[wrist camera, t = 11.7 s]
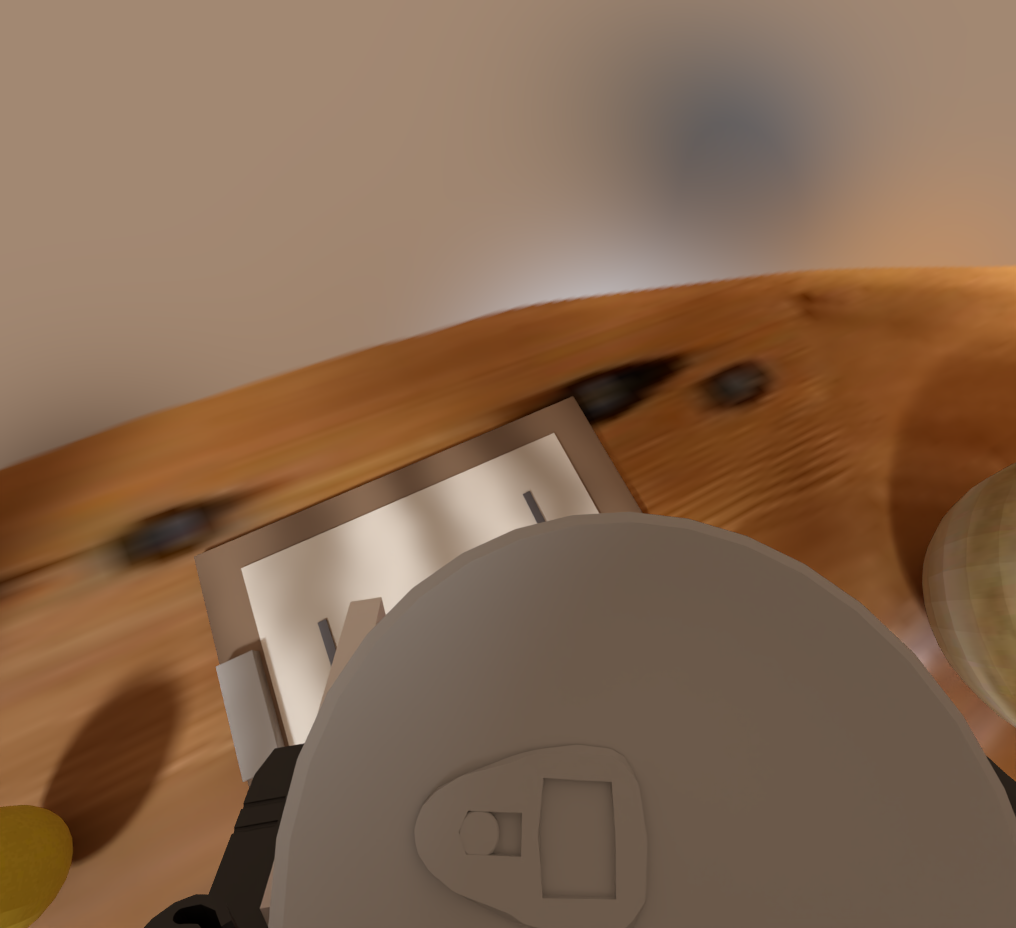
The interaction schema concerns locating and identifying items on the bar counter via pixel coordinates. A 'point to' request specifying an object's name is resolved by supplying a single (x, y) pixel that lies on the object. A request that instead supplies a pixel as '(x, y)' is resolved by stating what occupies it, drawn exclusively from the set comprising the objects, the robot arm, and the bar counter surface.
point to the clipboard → (380, 560)
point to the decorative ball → (977, 590)
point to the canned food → (639, 752)
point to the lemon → (31, 862)
